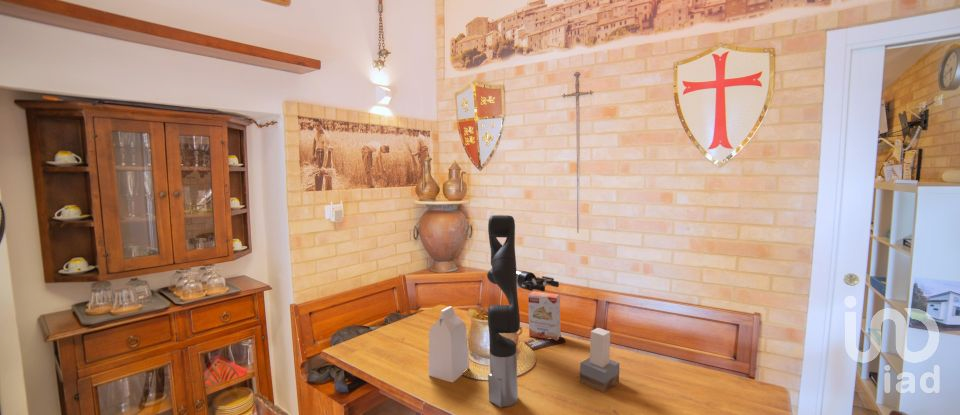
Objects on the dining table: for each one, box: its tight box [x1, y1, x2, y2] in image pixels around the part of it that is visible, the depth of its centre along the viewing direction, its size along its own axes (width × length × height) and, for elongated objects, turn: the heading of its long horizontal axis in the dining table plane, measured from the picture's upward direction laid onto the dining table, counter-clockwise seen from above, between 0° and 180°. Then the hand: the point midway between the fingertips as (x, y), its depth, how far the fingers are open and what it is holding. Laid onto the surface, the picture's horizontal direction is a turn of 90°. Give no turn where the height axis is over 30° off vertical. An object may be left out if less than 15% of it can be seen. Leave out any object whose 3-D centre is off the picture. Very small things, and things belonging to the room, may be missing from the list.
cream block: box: [589, 327, 611, 368], centre depth 143 cm, size 5×5×12 cm
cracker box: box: [528, 291, 561, 342], centre depth 186 cm, size 14×6×21 cm, turn 62°
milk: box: [428, 305, 470, 384], centre depth 155 cm, size 12×12×26 cm
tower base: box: [579, 372, 620, 393], centre depth 145 cm, size 10×10×4 cm
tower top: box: [579, 357, 620, 383], centre depth 144 cm, size 10×10×4 cm
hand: (551, 286), depth 159 cm, fingers open, 8 cm apart
